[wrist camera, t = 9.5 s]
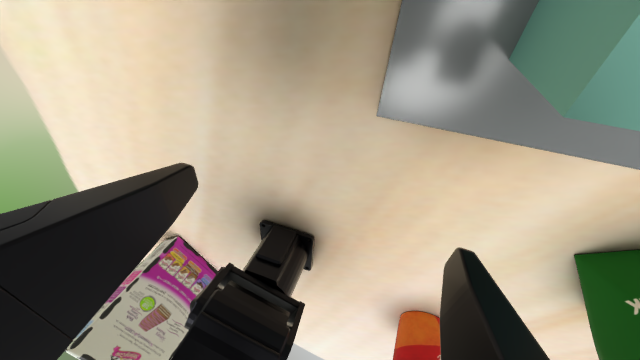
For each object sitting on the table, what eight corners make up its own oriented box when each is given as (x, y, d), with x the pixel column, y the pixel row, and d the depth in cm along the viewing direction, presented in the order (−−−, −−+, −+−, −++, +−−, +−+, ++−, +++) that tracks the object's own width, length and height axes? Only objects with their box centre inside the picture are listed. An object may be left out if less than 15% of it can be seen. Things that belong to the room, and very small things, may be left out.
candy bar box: (164, 238, 42) (54, 346, 30) (178, 234, 39) (64, 350, 27) (210, 280, 46) (131, 389, 34) (227, 279, 43) (147, 397, 31)
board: (670, 167, 14) (683, 178, 13) (378, 110, 17) (376, 116, 16) (1231, -307, 6) (1354, -351, 5) (457, -239, 9) (459, -259, 8)
